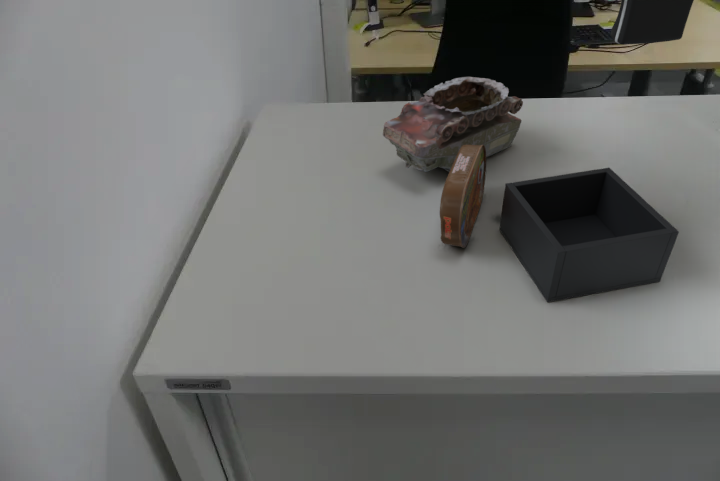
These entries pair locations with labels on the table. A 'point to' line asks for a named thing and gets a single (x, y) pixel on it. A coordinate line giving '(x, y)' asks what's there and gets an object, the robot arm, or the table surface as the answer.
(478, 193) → the tin
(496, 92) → the decorative box
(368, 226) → the table surface
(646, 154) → the table surface
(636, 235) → the open box
